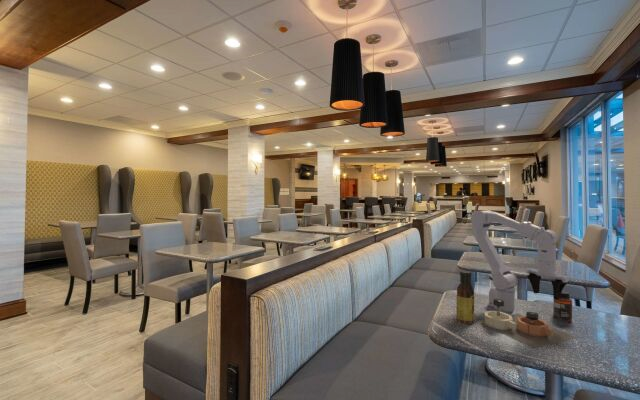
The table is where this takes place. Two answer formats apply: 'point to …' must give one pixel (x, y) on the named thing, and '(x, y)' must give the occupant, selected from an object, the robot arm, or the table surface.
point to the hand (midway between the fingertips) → (546, 295)
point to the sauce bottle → (465, 299)
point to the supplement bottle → (563, 307)
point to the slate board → (533, 340)
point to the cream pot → (499, 320)
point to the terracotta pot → (533, 327)
